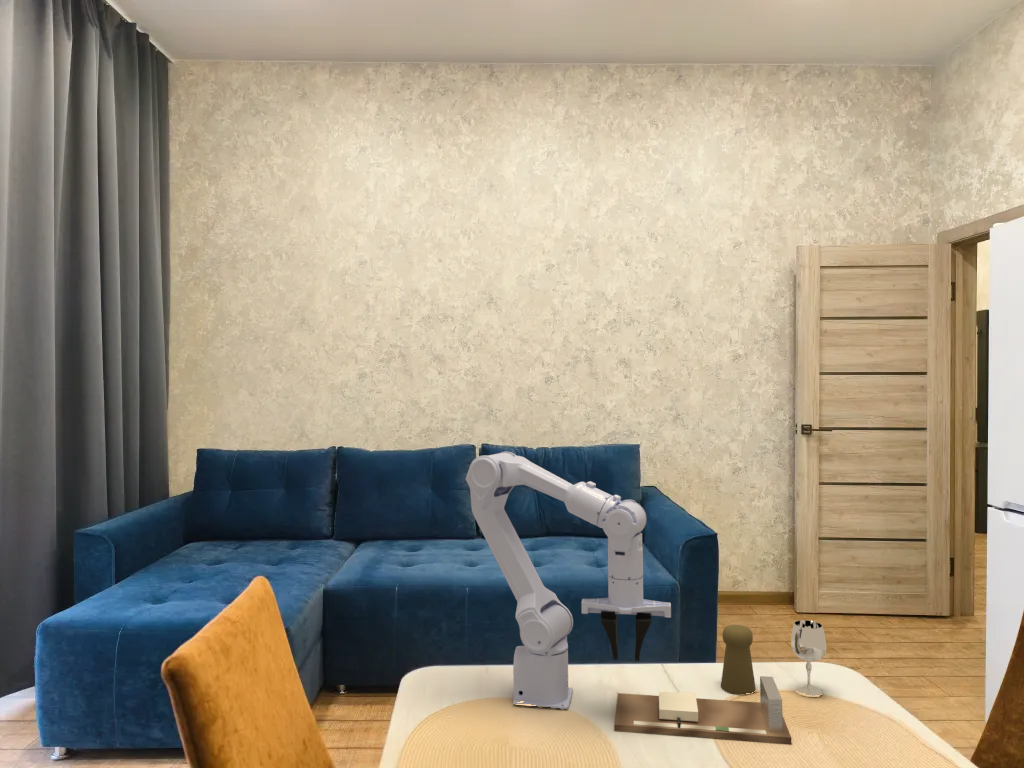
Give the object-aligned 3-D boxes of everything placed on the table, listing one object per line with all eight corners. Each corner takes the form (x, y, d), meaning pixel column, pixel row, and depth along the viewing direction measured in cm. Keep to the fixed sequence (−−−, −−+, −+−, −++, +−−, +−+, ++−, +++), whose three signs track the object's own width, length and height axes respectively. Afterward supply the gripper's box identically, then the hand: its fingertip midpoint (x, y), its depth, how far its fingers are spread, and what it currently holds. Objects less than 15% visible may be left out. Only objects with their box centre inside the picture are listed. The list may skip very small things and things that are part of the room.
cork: (758, 696, 128) (757, 633, 128) (722, 693, 129) (721, 631, 129) (753, 682, 134) (753, 622, 134) (719, 680, 135) (718, 620, 135)
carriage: (659, 724, 115) (659, 714, 115) (659, 700, 124) (658, 691, 124) (699, 727, 114) (698, 717, 114) (695, 702, 123) (695, 693, 123)
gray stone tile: (768, 731, 113) (768, 698, 113) (760, 706, 122) (760, 676, 122) (782, 732, 113) (782, 699, 113) (773, 707, 122) (772, 676, 122)
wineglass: (786, 693, 129) (785, 624, 129) (799, 683, 134) (798, 617, 134) (819, 702, 125) (818, 632, 125) (831, 691, 130) (830, 623, 130)
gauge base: (614, 730, 116) (614, 723, 116) (617, 698, 128) (617, 692, 128) (791, 744, 111) (791, 736, 111) (777, 709, 123) (777, 702, 123)
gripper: (579, 580, 119) (580, 664, 119) (671, 583, 116) (672, 669, 116) (583, 569, 126) (584, 648, 126) (669, 572, 123) (670, 653, 123)
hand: (626, 657), depth 122 cm, fingers open, 3 cm apart
